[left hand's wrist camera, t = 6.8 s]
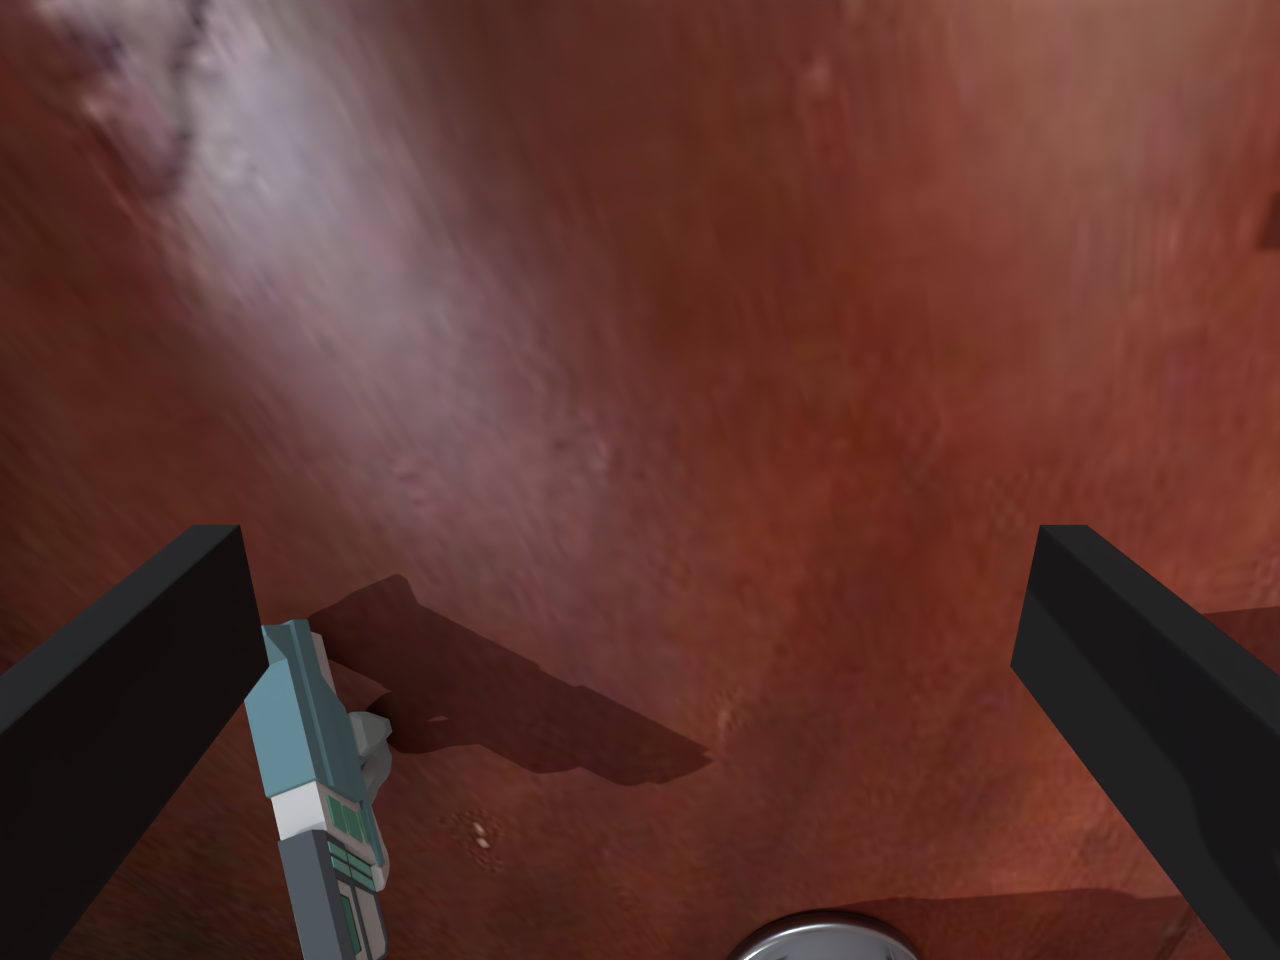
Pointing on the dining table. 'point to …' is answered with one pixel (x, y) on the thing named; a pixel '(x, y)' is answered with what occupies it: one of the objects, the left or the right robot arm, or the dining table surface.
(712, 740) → the dining table surface
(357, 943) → the toy gun
